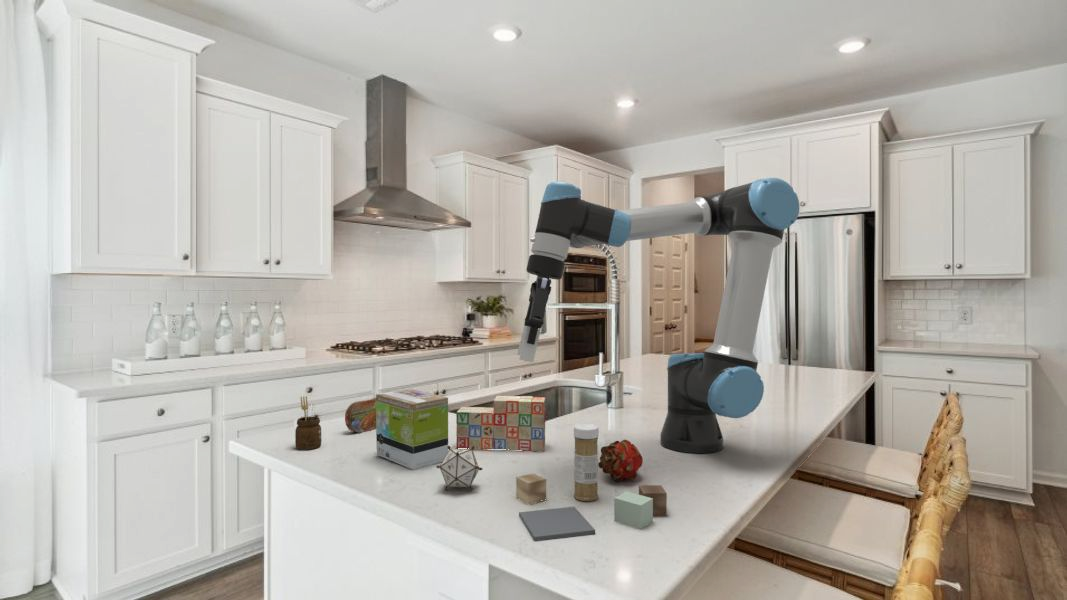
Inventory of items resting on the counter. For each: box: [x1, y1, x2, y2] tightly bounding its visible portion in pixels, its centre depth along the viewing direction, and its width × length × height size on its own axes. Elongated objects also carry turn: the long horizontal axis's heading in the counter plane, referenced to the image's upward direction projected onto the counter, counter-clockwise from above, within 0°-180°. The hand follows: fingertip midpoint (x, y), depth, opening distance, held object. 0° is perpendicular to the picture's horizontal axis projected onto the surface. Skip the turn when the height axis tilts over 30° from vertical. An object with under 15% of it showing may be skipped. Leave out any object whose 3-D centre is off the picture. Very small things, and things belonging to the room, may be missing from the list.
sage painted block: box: [613, 491, 654, 530], centre depth 94 cm, size 4×5×4 cm
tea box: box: [375, 388, 449, 471], centre depth 129 cm, size 15×10×15 cm, turn 47°
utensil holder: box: [294, 396, 322, 451], centre depth 138 cm, size 6×6×12 cm
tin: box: [344, 397, 376, 434], centre depth 156 cm, size 15×3×8 cm, turn 147°
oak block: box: [515, 472, 547, 505], centre depth 104 cm, size 4×4×4 cm
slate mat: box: [518, 506, 596, 542], centre depth 93 cm, size 10×10×1 cm
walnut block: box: [638, 484, 668, 517], centre depth 99 cm, size 4×4×4 cm
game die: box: [435, 445, 483, 492], centre depth 110 cm, size 9×8×10 cm
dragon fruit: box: [598, 439, 644, 482], centre depth 116 cm, size 8×8×12 cm
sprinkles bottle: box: [573, 423, 600, 502], centre depth 105 cm, size 5×5×14 cm
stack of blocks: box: [455, 395, 546, 452], centre depth 139 cm, size 21×6×12 cm, turn 85°
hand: (524, 358), depth 115 cm, fingers open, 13 cm apart
